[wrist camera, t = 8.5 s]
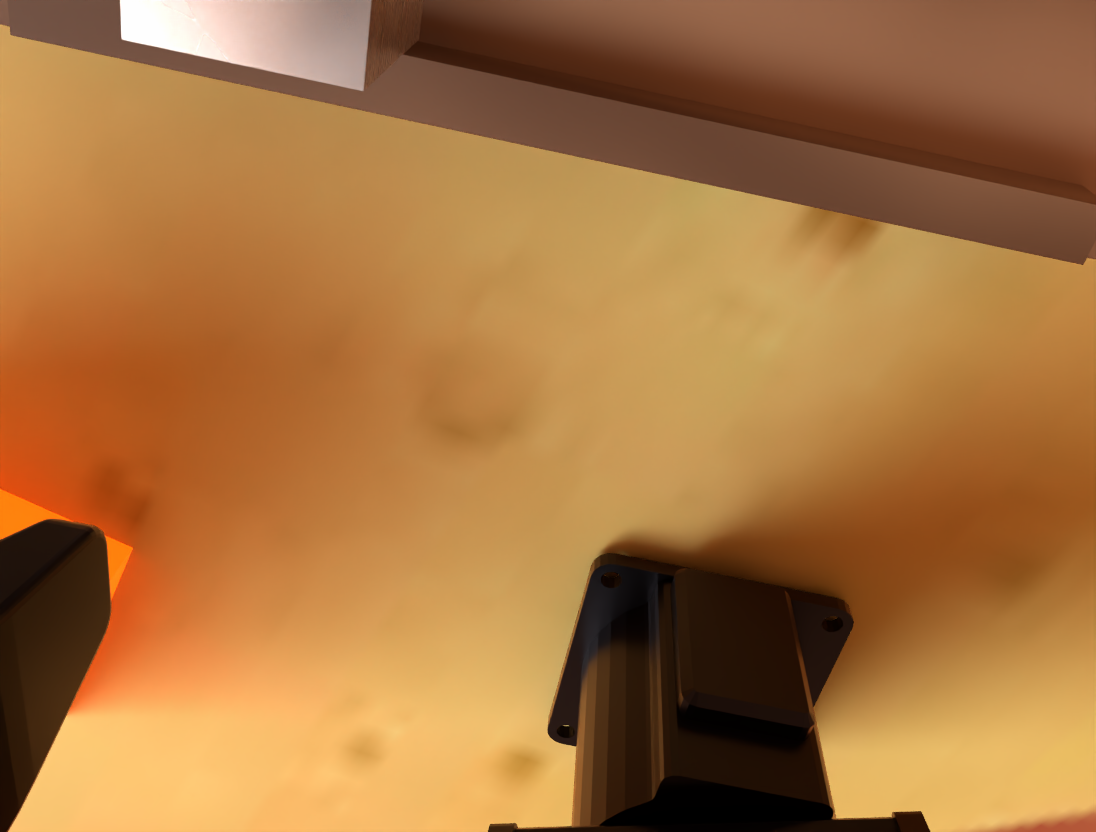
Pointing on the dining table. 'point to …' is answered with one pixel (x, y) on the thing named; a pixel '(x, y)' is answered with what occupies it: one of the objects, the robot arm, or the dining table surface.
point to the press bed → (745, 97)
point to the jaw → (283, 34)
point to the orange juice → (13, 514)
